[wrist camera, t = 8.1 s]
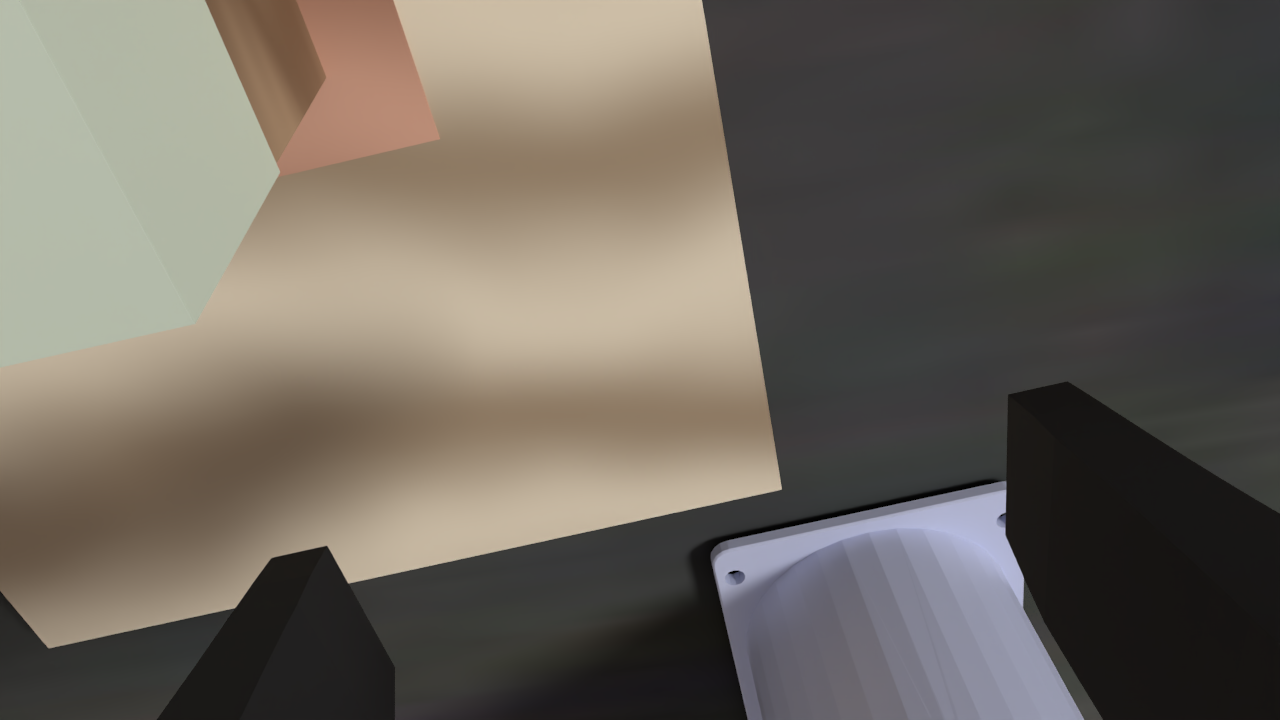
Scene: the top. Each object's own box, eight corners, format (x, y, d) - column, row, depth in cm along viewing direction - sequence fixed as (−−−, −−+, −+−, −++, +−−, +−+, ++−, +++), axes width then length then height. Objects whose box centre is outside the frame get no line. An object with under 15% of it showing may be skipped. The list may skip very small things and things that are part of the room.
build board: (773, 462, 24) (782, 491, 23) (65, 616, 24) (47, 650, 23) (577, -707, 12) (580, -740, 12) (-721, -363, 13) (-810, -369, 12)
